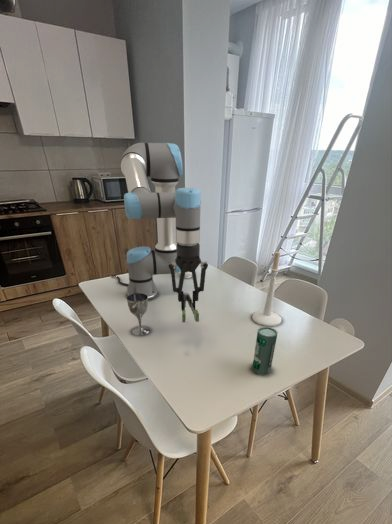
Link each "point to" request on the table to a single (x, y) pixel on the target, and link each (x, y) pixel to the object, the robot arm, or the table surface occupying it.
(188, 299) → the tongs
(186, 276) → the flower vase
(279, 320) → the candlestick
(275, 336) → the can
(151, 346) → the table surface
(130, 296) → the wine glass
